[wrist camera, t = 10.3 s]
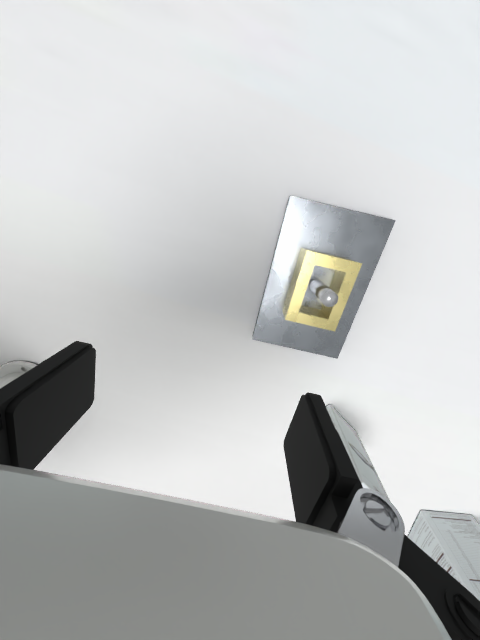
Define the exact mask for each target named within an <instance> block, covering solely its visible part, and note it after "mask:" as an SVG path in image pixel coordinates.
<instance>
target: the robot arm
mask: <svg viewBox="0 0 480 640" xmlns="http://www.w3.org/2000/svg"><path fill="white" fill-rule="evenodd" d="M95 359H96V350H95V349H94V348H93V347H92V345H91V344H88V343H84V342H79V341H76V342H74V343H72V344H70V345H69V346H67V347H66V348H64V349H63V350H61V351H59V352H58V353H56V354H55V355H53V356H51V357H50V358H48V359H47V360H45V361H43V362H42V363H40V364H39V365H36V364H34V363H30V362H25V361H12V362H9V363H6V364H4V365H2V366H0V640H480V601H479V600H478V599H477V598H476V597H475V596H474V595H473V594H472V593H471V592H470V591H468V590H467V589H466V588H465V587H464V586H463V585H462V584H460V583H459V582H458V581H457V580H456V579H455V578H454V577H453V576H451V575H450V574H449V573H448V572H447V571H446V570H445V569H443V568H442V567H441V566H440V565H439V564H438V563H437V562H435V561H434V560H433V559H432V558H431V557H430V556H429V555H427V554H426V553H425V552H424V551H423V550H422V549H421V548H419V547H418V546H417V545H416V544H415V543H414V542H413V541H411V540H410V539H409V538H408V537H407V536H406V535H405V534H404V532H405V530H404V523H403V520H402V517H401V516H400V514H399V512H398V511H397V509H396V508H395V507H394V506H393V504H392V503H391V502H390V501H389V500H388V499H386V498H385V497H384V496H383V495H381V494H380V493H378V492H377V491H374V490H372V489H368V488H363V486H362V484H361V482H360V480H359V477H358V475H357V473H356V471H355V468H354V466H353V464H352V462H351V460H350V457H349V455H348V453H347V451H346V449H345V446H344V444H343V442H342V440H341V438H340V435H339V433H338V432H337V430H336V429H335V426H334V424H333V422H332V420H331V417H330V415H329V413H328V411H327V408H326V406H325V404H324V402H323V399H322V397H321V396H320V395H317V394H312V393H306V395H302V396H301V398H300V401H299V404H298V406H297V409H296V411H295V414H294V416H293V419H292V421H291V424H290V426H289V429H288V432H287V434H286V437H285V439H284V451H285V457H286V463H287V469H288V475H289V481H290V487H291V493H292V499H293V505H294V511H295V517H296V522H294V521H289V520H285V519H280V518H276V517H271V516H267V515H262V514H257V513H252V512H247V511H242V510H237V509H232V508H227V507H222V506H218V505H213V504H208V503H203V502H198V501H193V500H188V499H182V498H177V497H172V496H167V495H162V494H157V493H152V492H147V491H142V490H136V489H131V488H126V487H121V486H116V485H111V484H105V483H100V482H95V481H90V480H84V479H79V478H74V477H68V476H63V475H58V474H53V473H47V472H42V471H37V470H33V469H34V468H35V467H36V466H37V465H38V464H39V463H40V462H41V461H42V459H43V458H44V457H45V456H46V455H47V454H48V453H49V452H50V451H51V450H52V448H53V447H54V446H55V445H56V444H57V443H58V442H59V441H60V440H61V439H62V437H63V436H64V435H65V434H66V433H67V432H68V431H69V430H70V429H71V428H72V426H73V425H74V424H75V423H76V422H77V421H78V420H79V419H80V418H81V417H82V415H83V414H84V413H85V412H86V411H87V410H88V409H89V408H90V406H91V405H92V403H93V401H94V387H95Z"/></svg>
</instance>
